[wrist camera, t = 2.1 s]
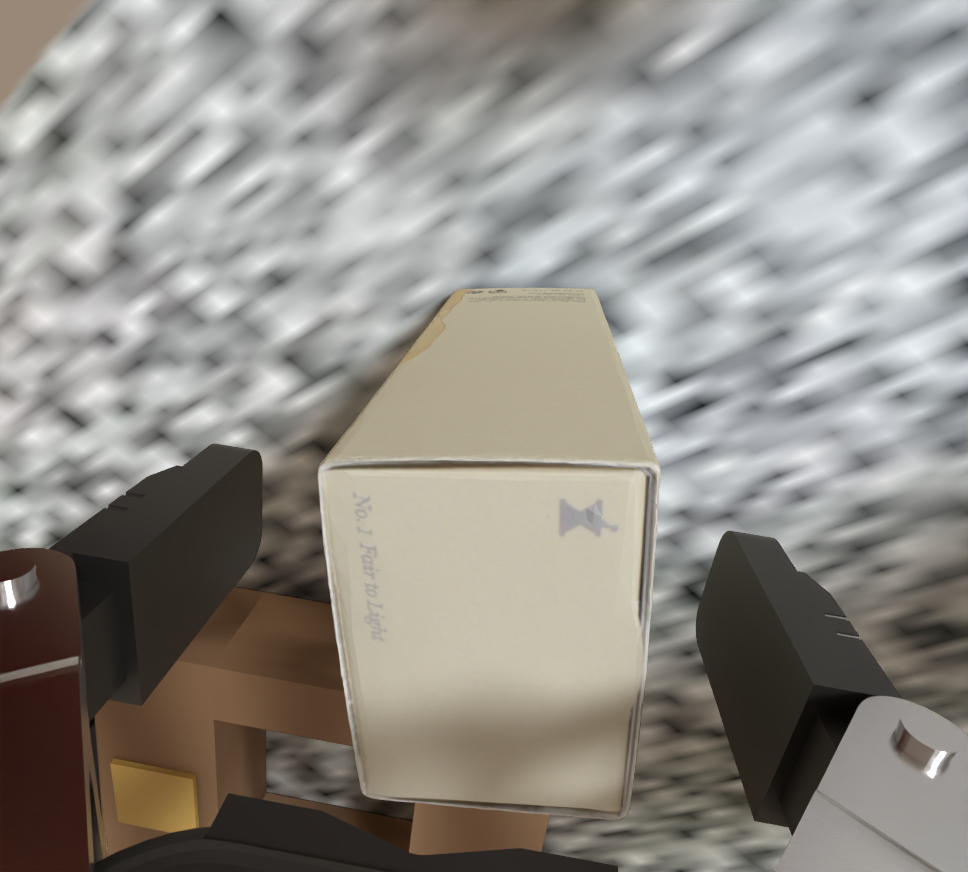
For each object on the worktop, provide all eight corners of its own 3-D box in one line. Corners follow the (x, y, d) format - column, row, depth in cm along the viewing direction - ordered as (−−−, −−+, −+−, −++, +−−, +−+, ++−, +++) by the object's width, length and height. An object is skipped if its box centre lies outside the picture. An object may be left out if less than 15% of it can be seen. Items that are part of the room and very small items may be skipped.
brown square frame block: (568, 646, 23) (569, 739, 19) (516, 876, 28) (509, 987, 24) (150, 571, 24) (72, 646, 20) (171, 808, 29) (111, 904, 25)
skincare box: (453, 286, 19) (296, 437, 8) (604, 286, 18) (671, 448, 7) (459, 477, 21) (346, 807, 10) (593, 482, 21) (633, 833, 10)
